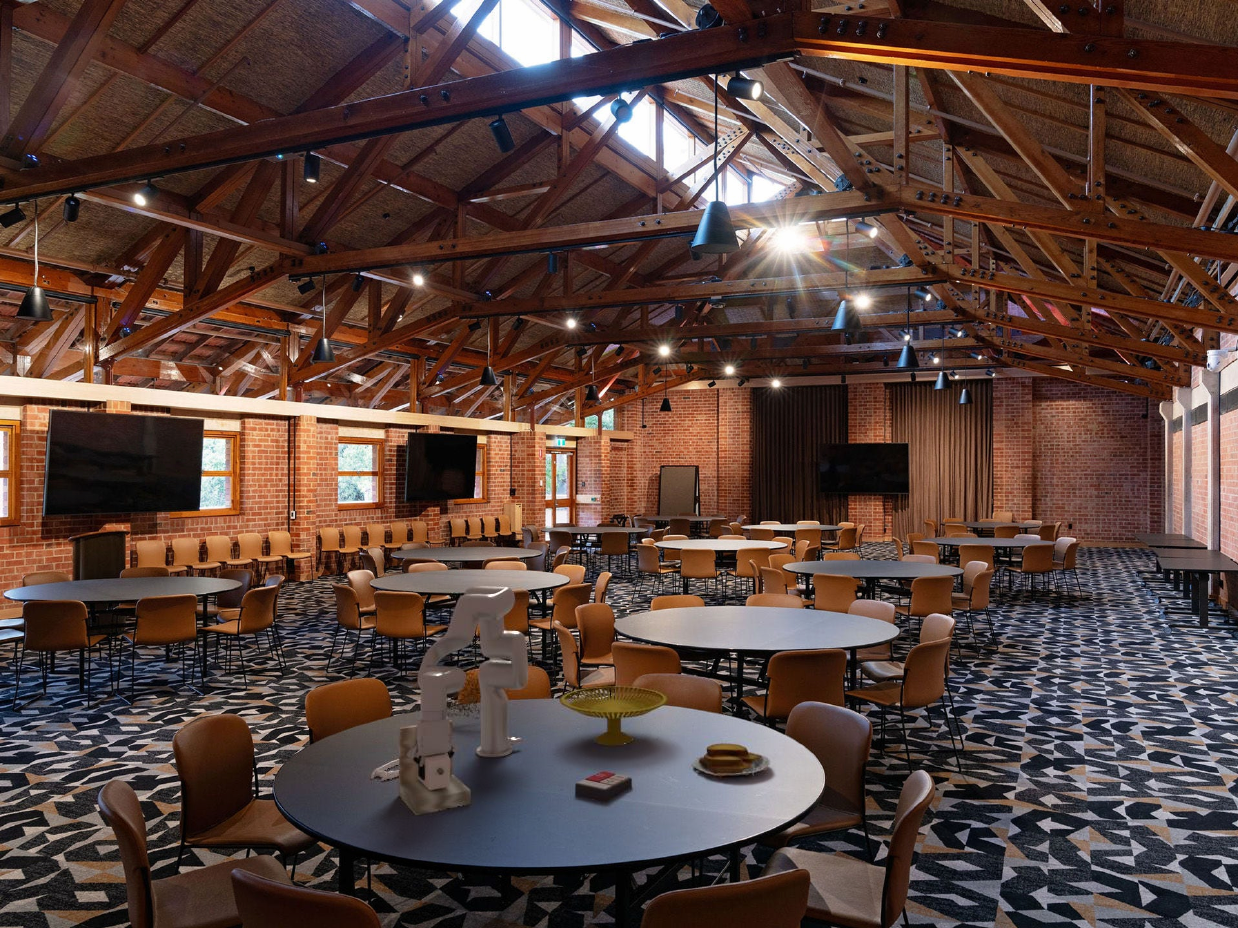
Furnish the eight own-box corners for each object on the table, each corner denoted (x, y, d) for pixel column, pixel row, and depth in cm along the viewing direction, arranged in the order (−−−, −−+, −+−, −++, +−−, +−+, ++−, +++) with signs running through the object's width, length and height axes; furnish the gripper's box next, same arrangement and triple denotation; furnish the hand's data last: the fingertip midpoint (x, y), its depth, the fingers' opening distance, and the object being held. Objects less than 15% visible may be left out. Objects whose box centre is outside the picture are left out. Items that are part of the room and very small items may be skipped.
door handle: (441, 760, 273) (388, 783, 251) (419, 756, 278) (365, 778, 256) (441, 752, 274) (388, 774, 251) (419, 748, 278) (365, 769, 256)
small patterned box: (632, 775, 247) (605, 787, 234) (632, 790, 246) (605, 803, 234) (602, 769, 252) (574, 780, 240) (602, 783, 252) (574, 795, 240)
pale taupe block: (436, 774, 244) (437, 747, 245) (451, 787, 233) (451, 759, 233) (417, 777, 241) (417, 750, 241) (430, 791, 230) (430, 762, 230)
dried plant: (403, 686, 304) (512, 637, 304) (427, 676, 335) (526, 631, 335) (434, 763, 300) (544, 713, 300) (456, 745, 330) (555, 699, 331)
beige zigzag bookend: (450, 785, 248) (450, 719, 249) (470, 804, 233) (470, 733, 234) (398, 795, 240) (399, 727, 241) (415, 815, 225) (416, 742, 226)
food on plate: (728, 788, 245) (727, 766, 245) (677, 767, 266) (676, 746, 266) (787, 772, 259) (786, 751, 260) (734, 752, 280) (733, 733, 280)
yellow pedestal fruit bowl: (644, 720, 321) (643, 682, 322) (687, 749, 283) (687, 705, 284) (546, 730, 307) (546, 690, 307) (578, 762, 269) (578, 717, 270)
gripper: (457, 707, 246) (457, 767, 245) (401, 715, 237) (400, 778, 236) (465, 713, 240) (465, 775, 239) (408, 721, 231) (407, 785, 230)
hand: (433, 775), depth 238 cm, fingers closed on pale taupe block, 5 cm apart
